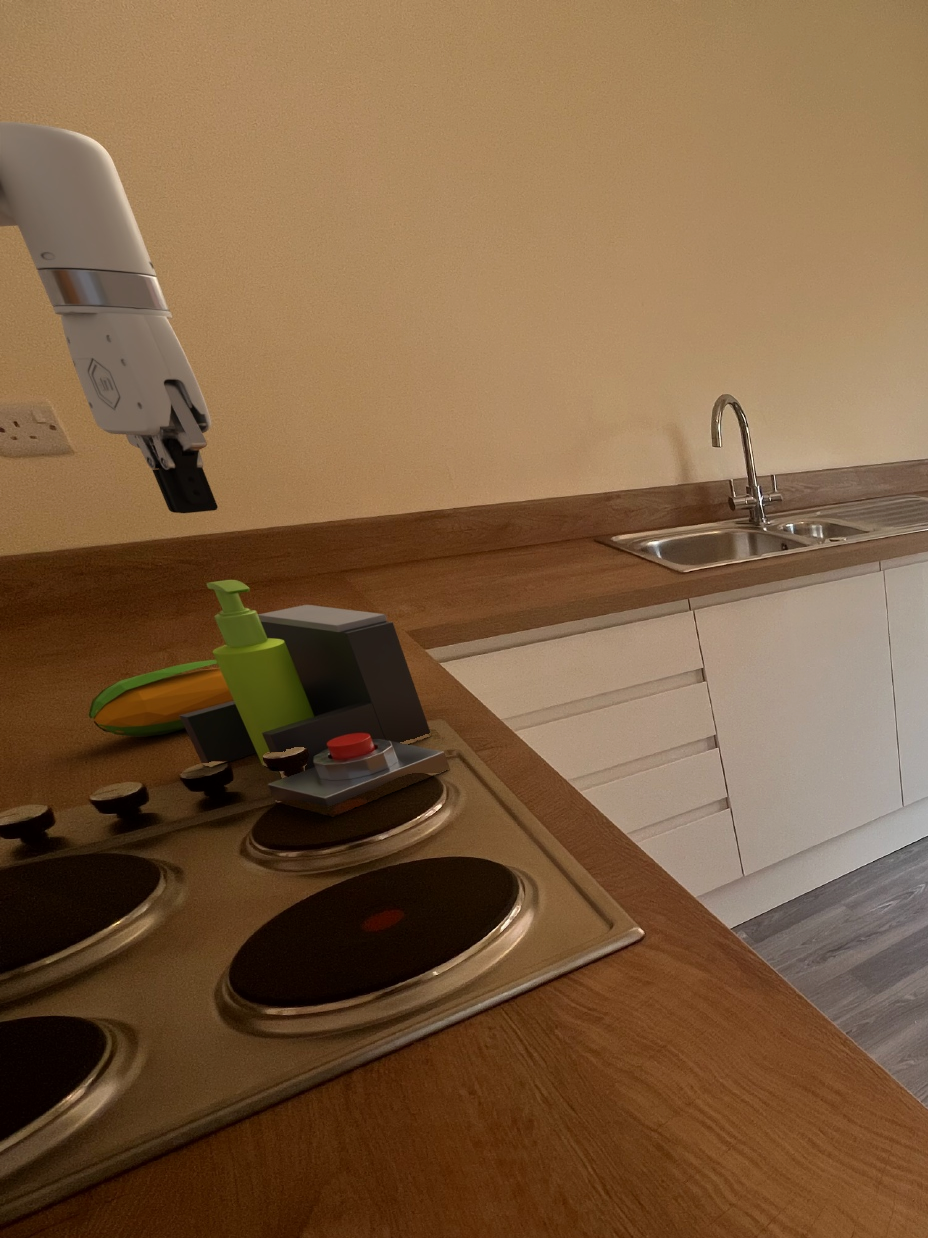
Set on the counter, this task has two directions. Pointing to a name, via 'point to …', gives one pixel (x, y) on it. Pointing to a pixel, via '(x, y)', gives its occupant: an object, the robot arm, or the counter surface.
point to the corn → (158, 700)
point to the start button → (350, 746)
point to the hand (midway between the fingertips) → (194, 511)
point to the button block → (357, 773)
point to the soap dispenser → (256, 668)
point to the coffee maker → (325, 687)
